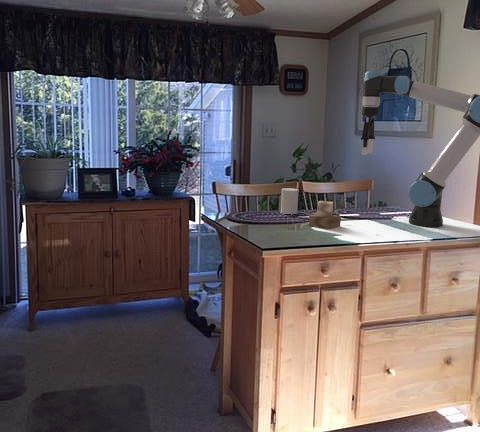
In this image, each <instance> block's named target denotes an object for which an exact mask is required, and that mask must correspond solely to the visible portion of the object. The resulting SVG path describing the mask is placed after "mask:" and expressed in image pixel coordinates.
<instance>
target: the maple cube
mask: <svg viewBox="0 0 480 432" xmlns="http://www.w3.org/2000/svg"><path fill="white" fill-rule="evenodd" d="M333 211H334V201H328V200H319V201H318V202H317V210H316V214H317V216H320V217H331V216H332V215H333Z"/></svg>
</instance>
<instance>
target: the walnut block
mask: <svg viewBox="0 0 480 432" xmlns="http://www.w3.org/2000/svg"><path fill="white" fill-rule="evenodd" d="M341 219H342V216H341V215H336V214H332V216H331V217H320V216H317V213H315V214H314V213H313V214H309V216H308V227H314V228H318V229H324V230H332V229H336V228H341V221H342V220H341Z"/></svg>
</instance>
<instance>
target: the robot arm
mask: <svg viewBox="0 0 480 432" xmlns="http://www.w3.org/2000/svg"><path fill="white" fill-rule="evenodd" d="M363 78H364V80H363V91H362V92H363V93H362V94H363V95H362V99H361V102H362V106H363V107H361V115H362V116H365V117H364V121H363V122H364V123H363V127H362V128H363V129H362V136H361V137H360V140H362V141H361V142H362V143H361V155H362V156H363V155H365V156H367V155H369V154H373V150H374V140H375V139H376V136H375V119H376V118H375V116H376V117H377V116H379V115H380V114H379V113H380V108H379V106H380V105H381V104H380V103H381V94H393V95H398V96H403V97H406V98H410V99H414V100H418V101H421V102H425V103H429V104H433V105H436V106H440V107H444V108H446V109H450V110H455V111H458V112H462V113H464V115H463V116H462V117H461V118H462V123H461V125H460V126H459V128H458V129H457V130H456V132H455V133H454V134H453V135H452V137H451V138H450V139H449V141H448V143H447V144H446V145H445V146H444V148H443V149H442V151H441V152H440V153H439V154H438V156H437V157H436V159H435V160H434V161H433V163H432V164H431V166H430V167H429V168H428V169H426V170H422V172H421V173H420V174H418V175H417V177H416V180H415V181H414V182H413V183H411V185H409V188H408V191H407V196H408V198H409V201H410V202H411V203H412V204H413V205H414V206H413V208H412V210H411V213H410V215H409V218H408V223H409V224H411V225H413V226H414V225H415V226H417V227H424V226H429V227H428V228H440V227H439V226H441V227H443V225H444V218H443V215H442V211H441V207H442V198H443V190H444V189H445V188H446V186H447V183H446V181H447V179H448V178H449V177H450V175H451V174H452V173H453V171H455V168H456V167H457V166H458V165H459V163H460V162H461V161H462V159H463V158H464V157H465V156H466V154H467V153H468V152H469V151H470V149H471V147H472V146H473V145H474V144H475V143H476V142H477V140H478V139H479V137H480V94H476V93H473V94H471V95H470V94H467V93H463V92H459V91H455V90H451V89H449V88H448V89H446V88H444V87H439V86H435V85H431V84H428V83H423V82H420V81H416V80H412V79H410V78H409V76H407V75H383V72H381V71H380V70H378V71H377V70H376V71H375V70H368V71H366V72H365V73H364V77H363Z"/></svg>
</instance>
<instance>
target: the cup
mask: <svg viewBox="0 0 480 432" xmlns="http://www.w3.org/2000/svg"><path fill="white" fill-rule="evenodd" d="M299 190H300V189H297V188H291V187H289V188H288V187H287V188H286V187H285V188H284V187H283V188H281V198H280V214H281V213H283V214H291V215H290V216H293V215H292V214H297V215H298V203H299V192H300V191H299ZM283 214H282V215H283Z"/></svg>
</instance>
